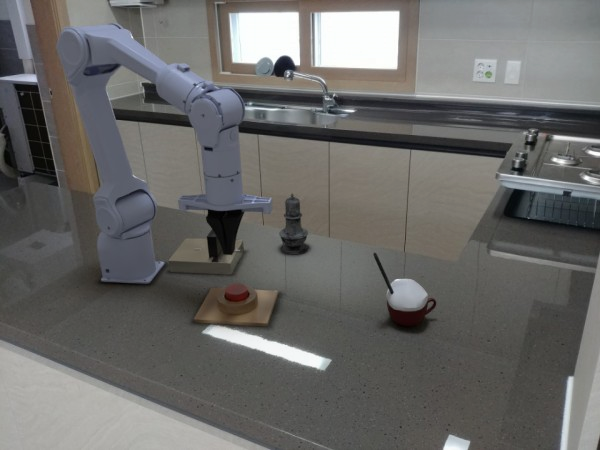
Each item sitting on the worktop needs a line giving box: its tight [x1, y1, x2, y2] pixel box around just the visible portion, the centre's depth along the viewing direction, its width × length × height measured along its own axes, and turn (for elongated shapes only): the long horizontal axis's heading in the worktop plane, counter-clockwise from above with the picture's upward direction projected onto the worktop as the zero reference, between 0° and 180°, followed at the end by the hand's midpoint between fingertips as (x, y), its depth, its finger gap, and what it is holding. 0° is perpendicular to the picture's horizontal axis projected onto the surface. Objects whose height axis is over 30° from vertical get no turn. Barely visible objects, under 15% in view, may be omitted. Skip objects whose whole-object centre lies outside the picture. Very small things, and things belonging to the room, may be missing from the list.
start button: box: [225, 283, 248, 302], centre depth 88 cm, size 4×4×2 cm
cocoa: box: [373, 252, 437, 327], centre depth 82 cm, size 10×6×12 cm, turn 71°
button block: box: [193, 285, 280, 328], centre depth 89 cm, size 12×10×2 cm
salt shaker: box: [278, 193, 309, 255], centre depth 107 cm, size 6×6×12 cm
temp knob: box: [206, 228, 222, 256], centre depth 103 cm, size 5×2×4 cm, turn 172°
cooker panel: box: [168, 237, 245, 276], centre depth 105 cm, size 13×10×3 cm
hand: (229, 252), depth 87 cm, fingers closed
